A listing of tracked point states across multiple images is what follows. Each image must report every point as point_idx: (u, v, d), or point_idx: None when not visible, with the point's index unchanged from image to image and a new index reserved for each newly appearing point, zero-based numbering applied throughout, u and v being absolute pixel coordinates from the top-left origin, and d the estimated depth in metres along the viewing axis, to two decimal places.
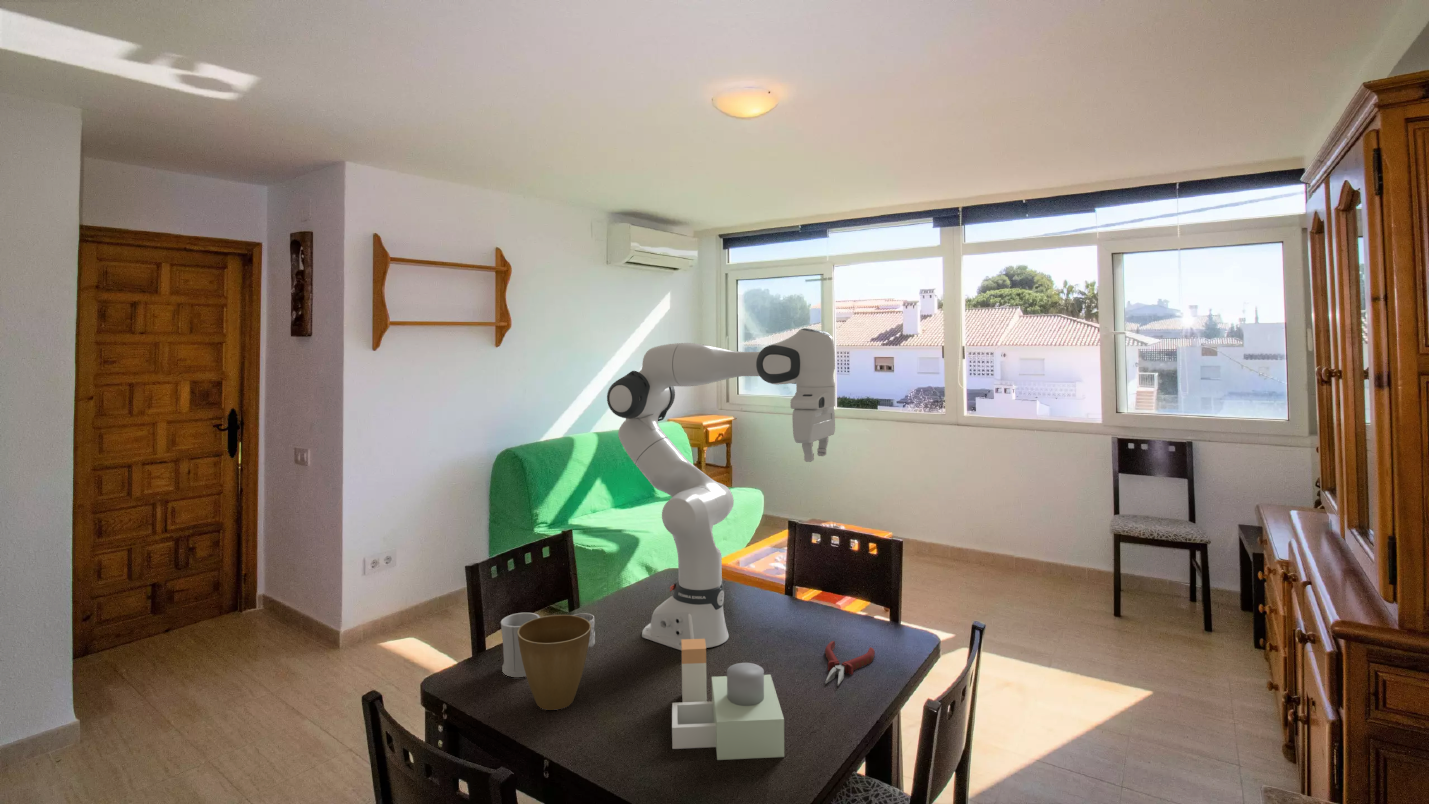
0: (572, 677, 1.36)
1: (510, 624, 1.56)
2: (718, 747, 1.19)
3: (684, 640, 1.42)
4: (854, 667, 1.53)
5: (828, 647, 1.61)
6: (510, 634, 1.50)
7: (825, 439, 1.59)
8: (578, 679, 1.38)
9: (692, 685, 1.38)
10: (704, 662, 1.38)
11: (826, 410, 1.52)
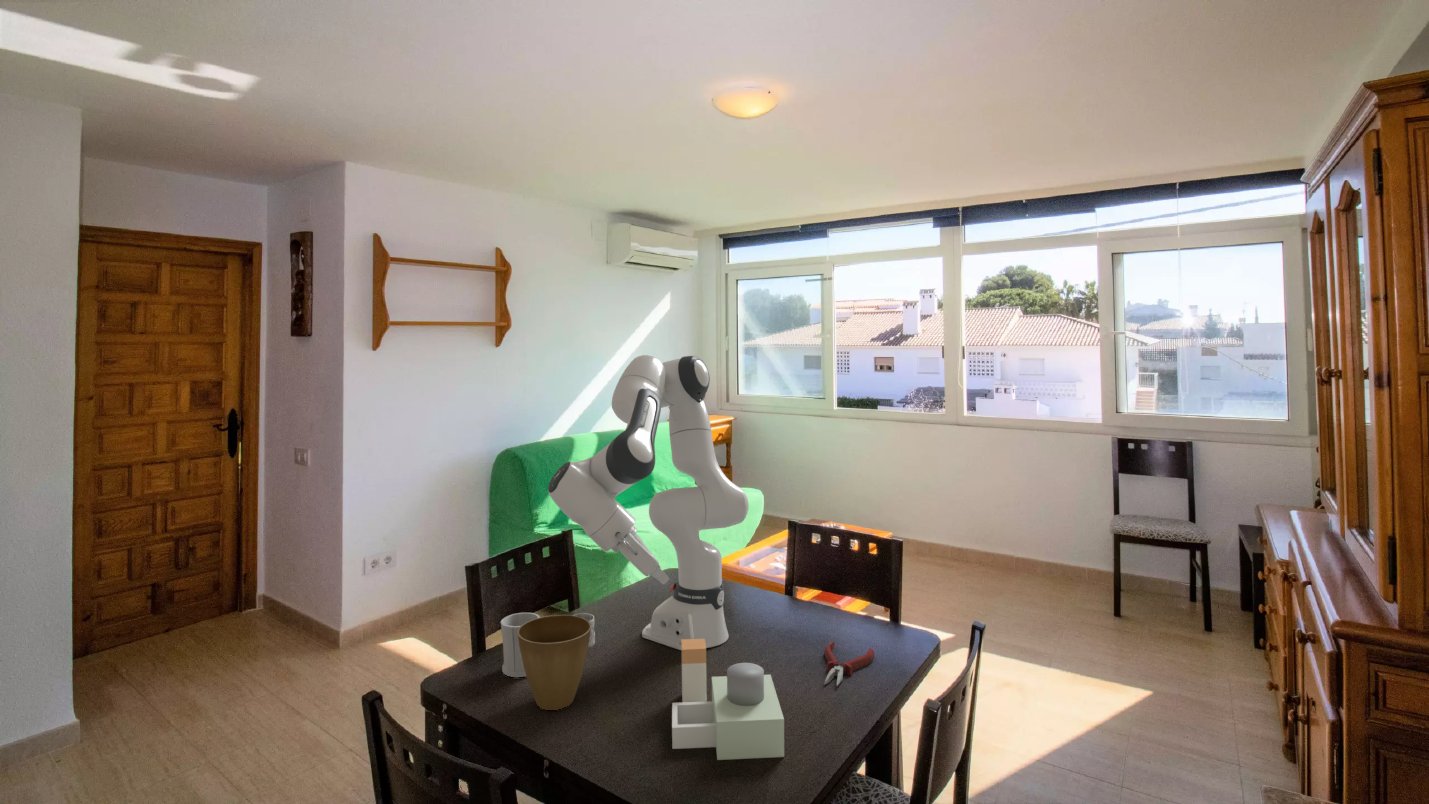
0: (572, 677, 1.36)
1: (510, 624, 1.56)
2: (718, 747, 1.19)
3: (684, 640, 1.42)
4: (853, 668, 1.53)
5: (827, 648, 1.60)
6: (510, 634, 1.50)
7: None
8: (578, 679, 1.38)
9: (692, 685, 1.38)
10: (704, 662, 1.38)
11: None
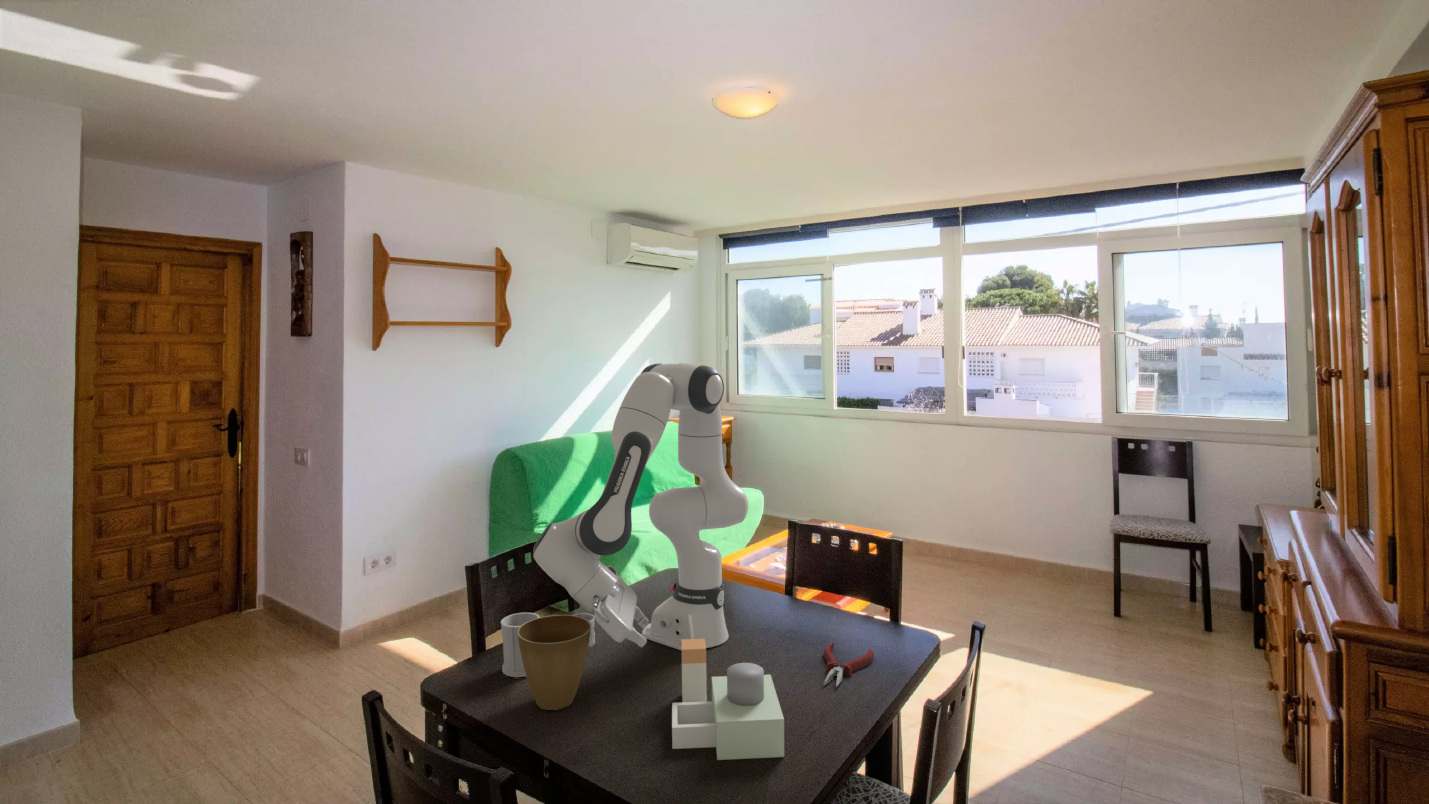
0: (572, 677, 1.36)
1: (510, 624, 1.56)
2: (718, 747, 1.19)
3: (684, 640, 1.42)
4: (853, 669, 1.52)
5: (827, 649, 1.60)
6: (510, 634, 1.50)
7: None
8: (578, 679, 1.38)
9: (692, 685, 1.38)
10: (704, 662, 1.38)
11: None
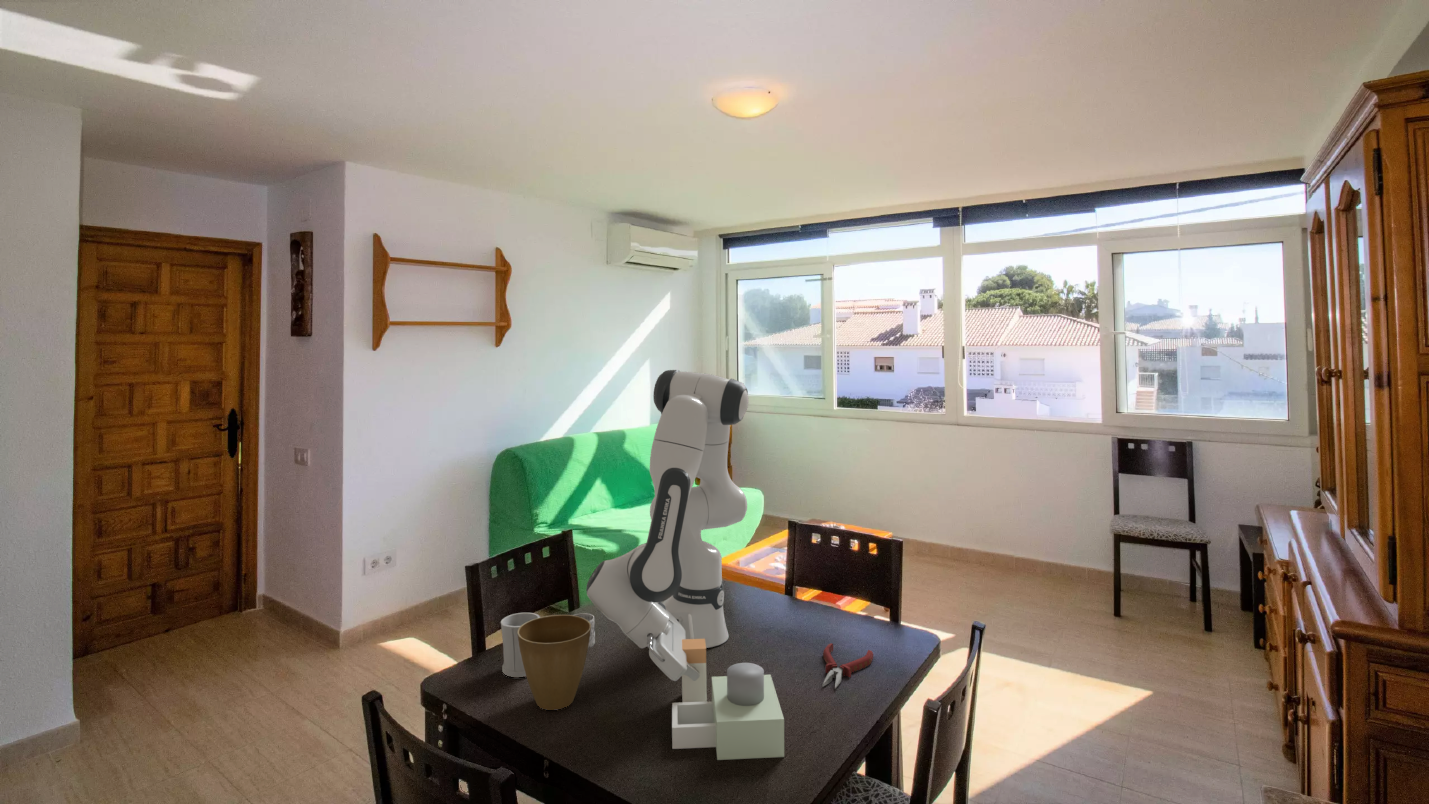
0: (572, 677, 1.36)
1: (510, 624, 1.56)
2: (718, 747, 1.19)
3: (684, 640, 1.42)
4: (852, 670, 1.52)
5: (826, 649, 1.60)
6: (510, 634, 1.50)
7: None
8: (578, 679, 1.38)
9: (692, 685, 1.38)
10: (704, 662, 1.38)
11: None
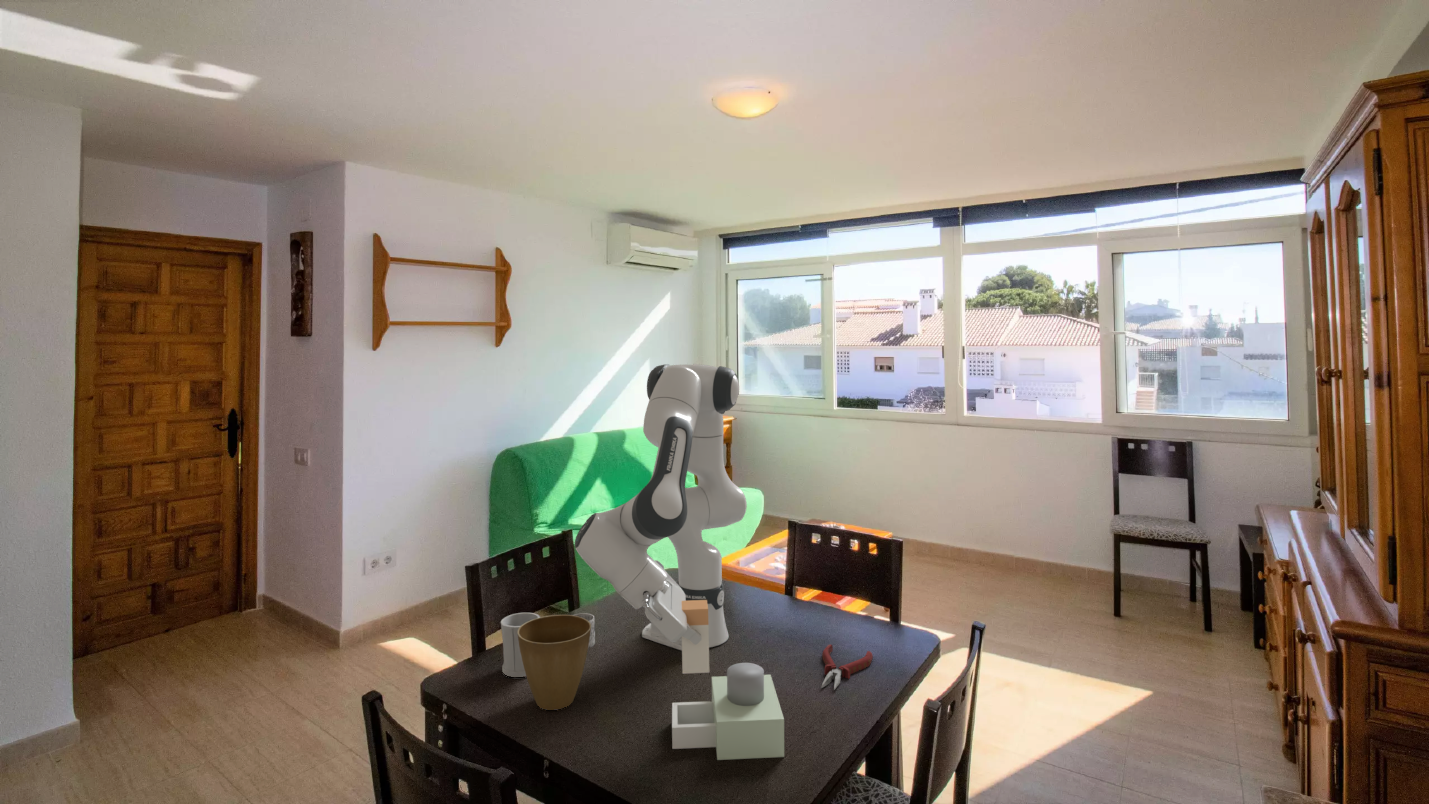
0: (572, 677, 1.36)
1: (510, 624, 1.56)
2: (718, 747, 1.19)
3: (684, 601, 1.28)
4: (851, 671, 1.51)
5: (825, 651, 1.59)
6: (510, 634, 1.50)
7: None
8: (578, 679, 1.38)
9: (693, 649, 1.24)
10: (706, 624, 1.24)
11: None
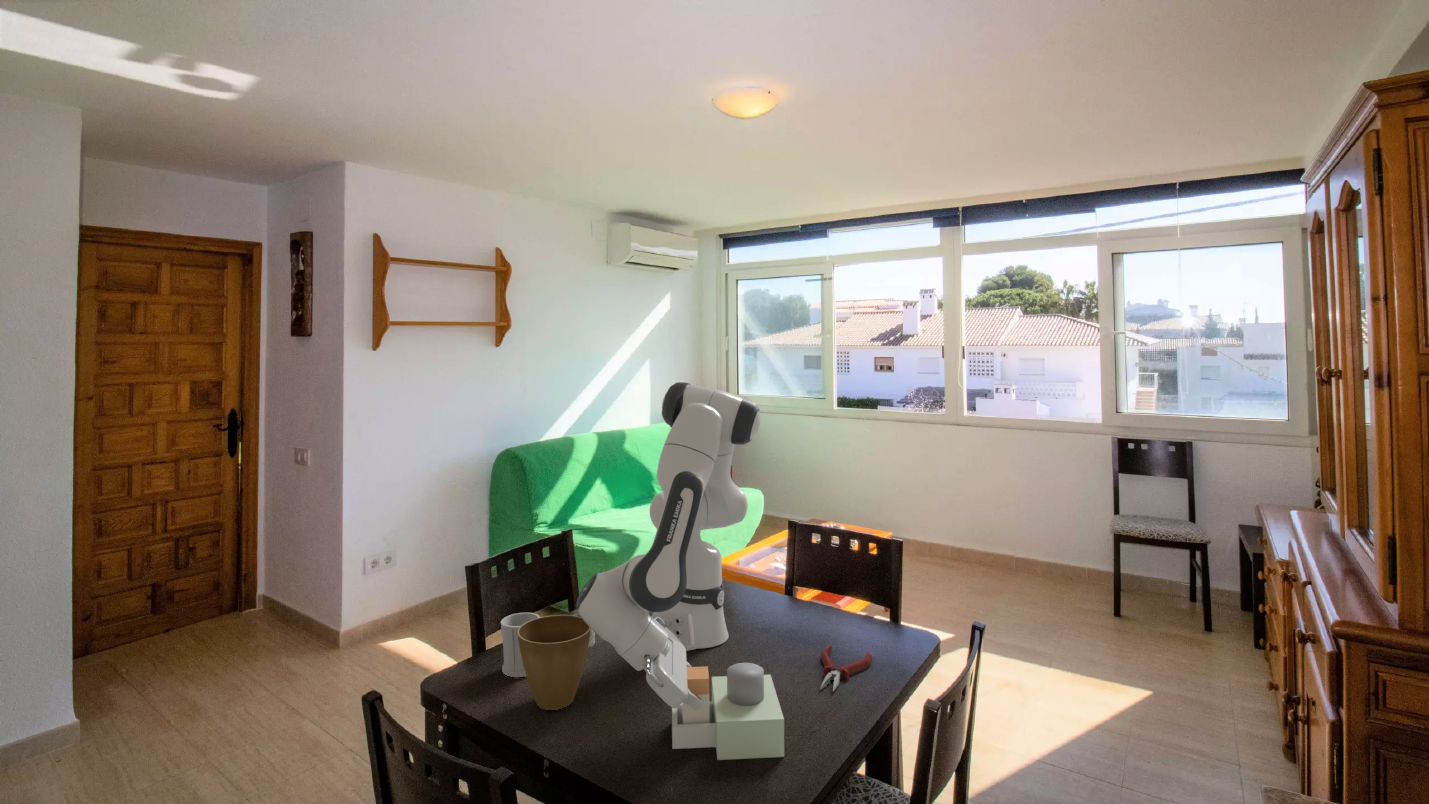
0: (572, 677, 1.36)
1: (510, 624, 1.56)
2: (718, 747, 1.19)
3: None
4: (850, 672, 1.50)
5: (824, 652, 1.58)
6: (510, 634, 1.50)
7: None
8: (578, 679, 1.38)
9: (694, 718, 1.25)
10: (707, 693, 1.25)
11: None
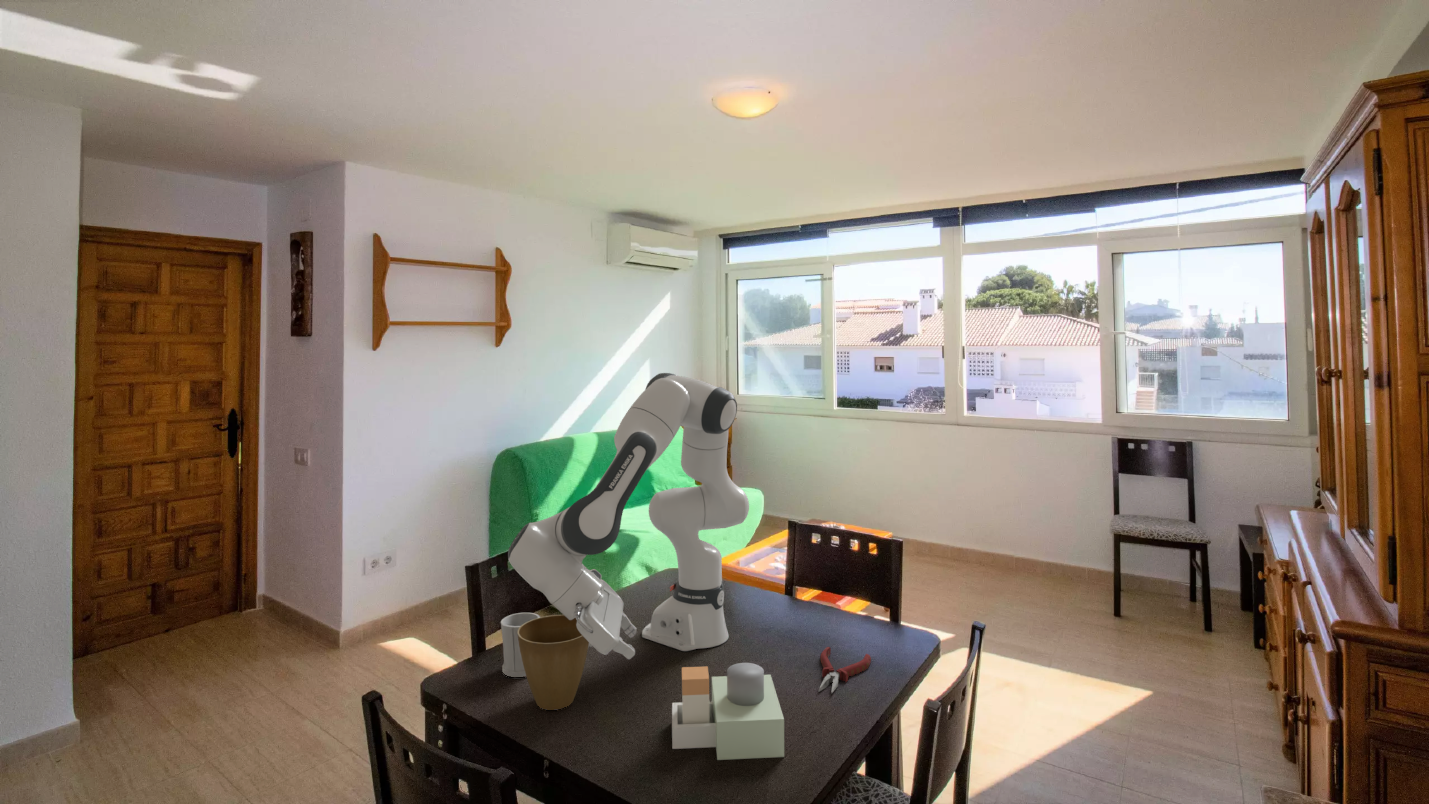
0: (572, 677, 1.36)
1: (510, 624, 1.56)
2: (718, 747, 1.19)
3: (685, 668, 1.29)
4: (849, 674, 1.50)
5: (823, 653, 1.58)
6: (510, 634, 1.50)
7: None
8: (578, 679, 1.38)
9: (694, 718, 1.25)
10: (707, 693, 1.25)
11: None
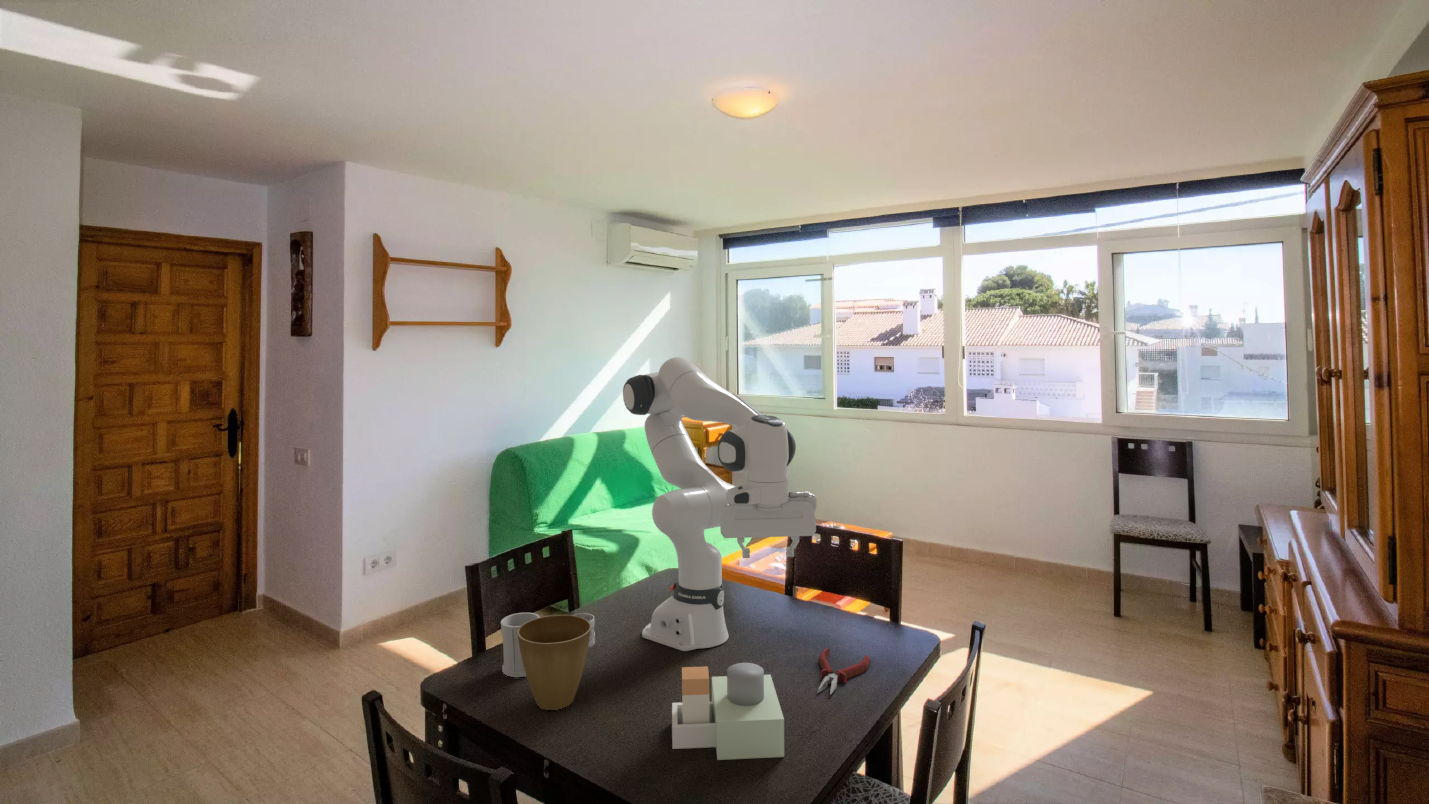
0: (572, 677, 1.36)
1: (510, 624, 1.56)
2: (718, 747, 1.19)
3: (685, 668, 1.29)
4: (848, 676, 1.49)
5: (822, 655, 1.57)
6: (510, 634, 1.50)
7: (792, 539, 1.42)
8: (578, 679, 1.38)
9: (694, 718, 1.25)
10: (707, 693, 1.25)
11: (764, 507, 1.39)
